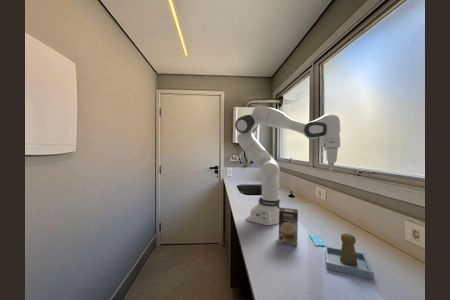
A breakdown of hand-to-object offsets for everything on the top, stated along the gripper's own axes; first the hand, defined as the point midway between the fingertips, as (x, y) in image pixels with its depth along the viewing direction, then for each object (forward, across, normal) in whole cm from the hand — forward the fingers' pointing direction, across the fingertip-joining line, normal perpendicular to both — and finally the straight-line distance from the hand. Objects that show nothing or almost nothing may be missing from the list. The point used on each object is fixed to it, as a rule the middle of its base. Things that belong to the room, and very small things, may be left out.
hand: (330, 169), depth 108 cm
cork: (+35, +28, +5) cm, 45 cm away
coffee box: (+35, +19, -20) cm, 45 cm away
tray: (+35, +29, +4) cm, 46 cm away
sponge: (+36, +12, -6) cm, 38 cm away
